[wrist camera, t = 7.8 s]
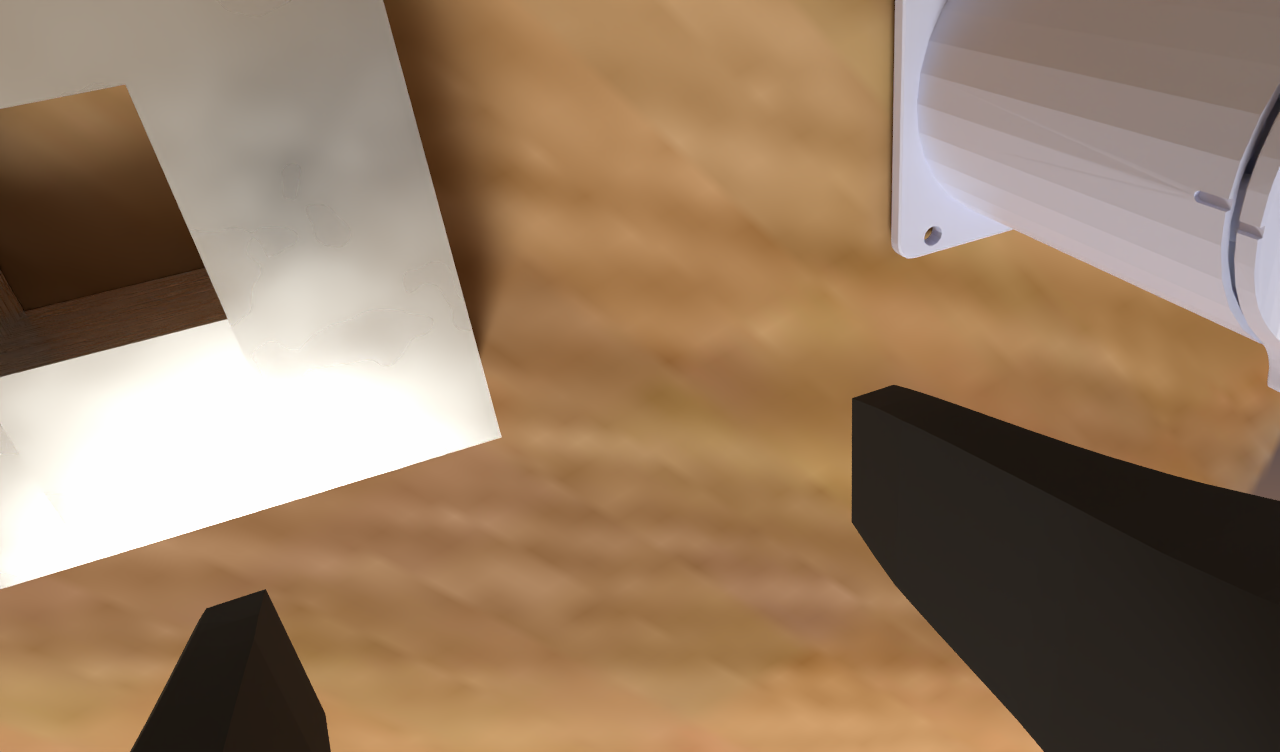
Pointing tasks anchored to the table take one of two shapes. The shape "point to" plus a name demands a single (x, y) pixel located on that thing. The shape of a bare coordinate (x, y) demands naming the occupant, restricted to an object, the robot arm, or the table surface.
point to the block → (234, 282)
